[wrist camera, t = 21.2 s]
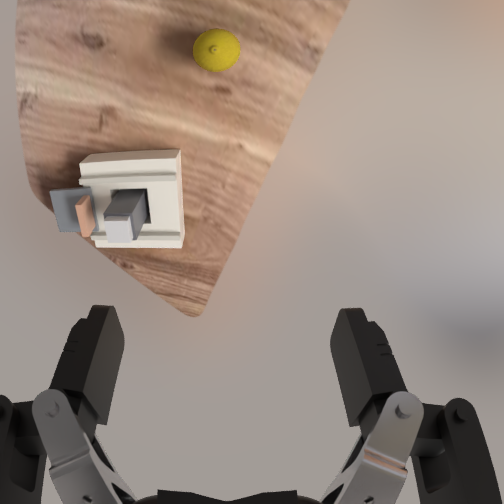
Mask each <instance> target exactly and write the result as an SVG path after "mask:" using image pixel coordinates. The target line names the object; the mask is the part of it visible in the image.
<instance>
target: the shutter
mask: <svg viewBox="0 0 504 504" xmlns="http://www.w3.org/2000/svg"><path fill="white" fill-rule="evenodd" d="M49 192H50V196H51V200H52V204H53V209H54V212H55V216H56V220H57V224H58V227H59V231H60V232H82V236H83V237H89V236H90V234H91V232H98V231H99V225H98V220H97V216H96V211H95V206H94V200H93V195H92V190H91V187H80V188H65V189H51V190H50V191H49Z"/></svg>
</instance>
